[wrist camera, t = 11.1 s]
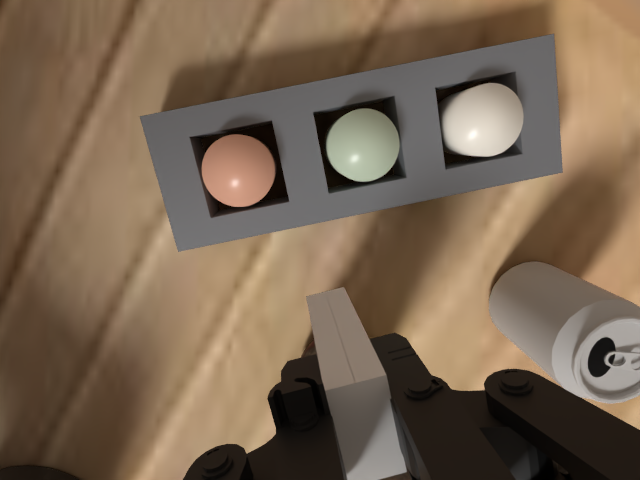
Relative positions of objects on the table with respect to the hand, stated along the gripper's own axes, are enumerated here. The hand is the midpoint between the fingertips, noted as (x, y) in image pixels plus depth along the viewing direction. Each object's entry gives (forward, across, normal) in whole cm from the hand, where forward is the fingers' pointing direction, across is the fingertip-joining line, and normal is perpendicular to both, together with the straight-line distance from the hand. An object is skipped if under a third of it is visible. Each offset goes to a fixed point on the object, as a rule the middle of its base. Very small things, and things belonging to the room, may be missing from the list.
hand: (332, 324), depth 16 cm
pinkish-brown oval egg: (+20, -3, +6) cm, 21 cm away
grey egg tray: (+20, +6, +6) cm, 22 cm away
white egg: (+20, +15, +6) cm, 25 cm away
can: (+20, +18, -11) cm, 29 cm away
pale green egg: (+20, +6, +6) cm, 21 cm away
